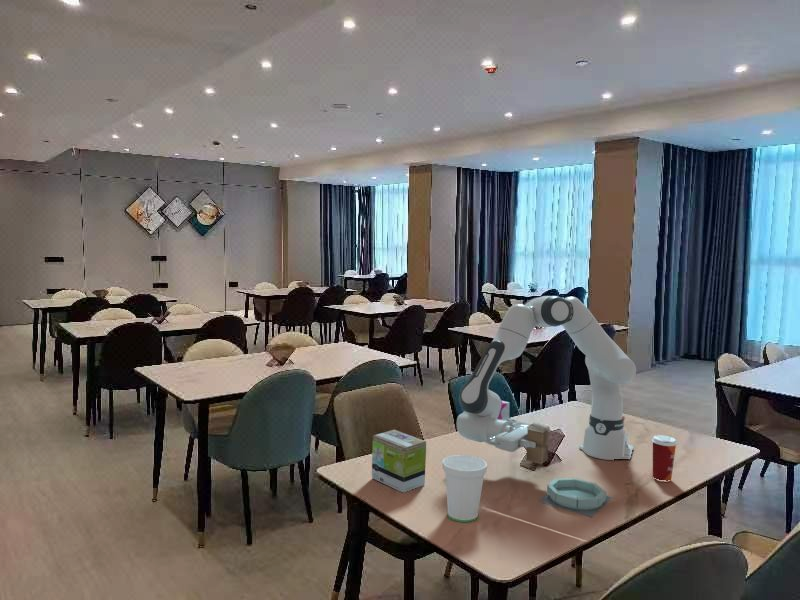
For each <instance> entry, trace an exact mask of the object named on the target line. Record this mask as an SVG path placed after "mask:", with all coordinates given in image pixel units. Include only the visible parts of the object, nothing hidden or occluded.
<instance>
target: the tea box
mask: <svg viewBox="0 0 800 600" xmlns="http://www.w3.org/2000/svg"><path fill="white" fill-rule="evenodd" d="M371 449H372V451H371V453H372V454H371V455H372V456H371V479H372V480H375V481H378V482H380V483H382V484H384V485H386V486H388V487H390V488H392V489H394V490H396V491H398V492H400V493H402V492H403V493H402V494H404V492H405V493H407V491H408V492H410V491H413V490H416V489H418V488H420V487H423V486H425V484H426V461H427V460H426V459H427V441H426V440H423V439H421V438H418V437H417V436H416V437H415V436H413V435H410V434H407V433H405V432H402V431H400V430H398V429H397V430H396V429H391V430H388V431H385V432H381V433H377V434H373V435H372V448H371ZM415 488H416V489H415ZM412 489H413V490H412ZM409 490H410V491H409Z"/></svg>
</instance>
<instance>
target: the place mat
mask: <svg viewBox="0 0 800 600" xmlns="http://www.w3.org/2000/svg"><path fill="white" fill-rule="evenodd" d="M612 498H613V497H612V496H609V495H606V500H605V501H604V502H603V503H602V506H601V507H600V508H598V509H595V510H574V509H569V508H566V507H563V506H560V505H558V504H556V503H555V502H553V501H552V500H551V499H550V495H549V494H548V493H547V494H546V495H545V496H544V497H542V498H541V499H540V500H539V501H538V503H541V504H545V505H548V506H551V507H555V508H558V509H561V510H564V511H568V512H571V513H575V514H579V515H581V516H584V517H588V518H593V517H594V516H595V515H596V514H597V513H598V512H600V510H601V509H602V508H603V507H604V506H605V505H606V504H607V503H608V502H609V501H610V500H611V499H612Z"/></svg>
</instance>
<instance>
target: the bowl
mask: <svg viewBox="0 0 800 600" xmlns="http://www.w3.org/2000/svg"><path fill="white" fill-rule="evenodd" d="M546 486H547V488H546V489H547V490H546V493H547V495H548V494H549V495H550V499H551V500H552V501H553V502H555V503H556V504H558V505H560V506H563V507H566V508H569V509H574V510H595V509H598V508H600V507H601V506H602V503H603V502H604V501H605V500H606V496H607V491H606V490H604V489H603V488H602V487H601V486H600V485H598V484H597V483H596V482H592V481H588V480H584V479H581V478H577V477H576V478H575V477H565V478H564V477H563V478H559V477H558V478H554V479H553V480H552V481H550V482H548V484H547V485H546Z"/></svg>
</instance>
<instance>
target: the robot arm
mask: <svg viewBox="0 0 800 600" xmlns="http://www.w3.org/2000/svg"><path fill="white" fill-rule="evenodd" d="M560 326H562V327H563V329H564V330H565V332H566V333H567V335H568V336H569V337H570V338H571V339H572V342H573V343H574V345H576V347H577V348H578V349H579V351H581V352H582V353H583V354H584V355H585V357H584V358H585V359H584V362H585V365H586V367H587V370H588V376H589V381H590V389H591V407H590V414H589V417H588V418H589V419H588V421H589V422H588V423H589V425H588V426H586V427H585V428H584V433H583V434H584V435H583V443H581V444H580V445H579V446H578V447H579V450H582V452H583V453H585V454H586V455H588V456H589V457H592V458H596V459H600V460H606V461H615V460H614V459H629V458H631V459H632V456H631V454H632V455H633V452H632V450H633V451H634V446H633V445H632V444H629V443H628V442H629V441H628V437H629V435H628V433H627V432H626V429H625V428H624V427H625V426H624V425H625V418H626V417H625V415H624V414H623V410H624V395H623V393H622V390H621V386H620V385H626V384H629V383H631V382H632V381H633V380H634V379H635V377H636V374H637V366H636V364H635V362H634V361H633V360H632V359H631V358H629V356H628V355H627V354H626V353H625V352H624V351H623V350H622V348H621V347H620V346H619V345H618V344H617V343H616V342H615V341H614V340H613V339H612V338H611V336H609V335H608V333H606V331H605V330H604V328H603V327H602V326H601V324H600V323H599V321H598V320H597V319H596V318H595V316H594V314H592V312H591V310H589V308H588V307H587V306H586V305H585V303H583V302H582V301H581V300H580V299H579V298H578V297H576V296H566V297H561V296H557V295H543V296H539V297H533V298H530V299H528V300H527V301H526V302H524V303H516V304H513V305H511V306H510V307H509V309H508V310H507V312H506V313H505V315H504V316H503V318H502V320H501V322H500V324H499V326H498V329H497V331H496V334H495V335H494V338H492V339H493V340H491V342H490V343H489V345H488V346H486V347H485V351H483V353H482V356H481V357H480V358H479V359H480V360H479V362H477V365H476V367H475V369H474V370H473V372H472V374H471V376H470V378H469V379H468V381H467V382H466V383H465V384H463V386H462V387H461V389H460V391H459V395H458V402H459V405H460V407H461V409H462V410H463V412H462V413H460V414H459V415H458V416H457V418H456V424H455V425H456V430H457V433H458V434H459V435H460V436H461V437H463V438H464V439H467V440H470V441H474V442H478V443H486V444H488V445H490V446H494V447H495V448H497V449H499V450H502V451H506V452H508V453H514V452H516V451H517V450H519V449H521V448H527V447H532V448H535V447H537V442H536V441H527V433H528V429H527V426H529V425H531V424H532V423H527V422H523V421H518V420H517V419H516V418H509V419H508V420H502V419H501V420H500V419H498V416H499V414H500V411H501V407H502V402H501V400H502V399H501V396H499V394H498V393H496V392H494V391H493V390H490V389H489V385H490V383H491V381H492V379H493V376H494V375H495V373H496V371H497V369H498V368H499V366H500V364H501V363H503V362H504V361H509V360H514V359H517V358H519V357H521V355H522V354H523V352H524V351H525V350H526V347H527V345H528V341H529V339H530V337H531V334H532V332H533V331H534V329H535V327H538V328H550V327H560Z"/></svg>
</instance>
